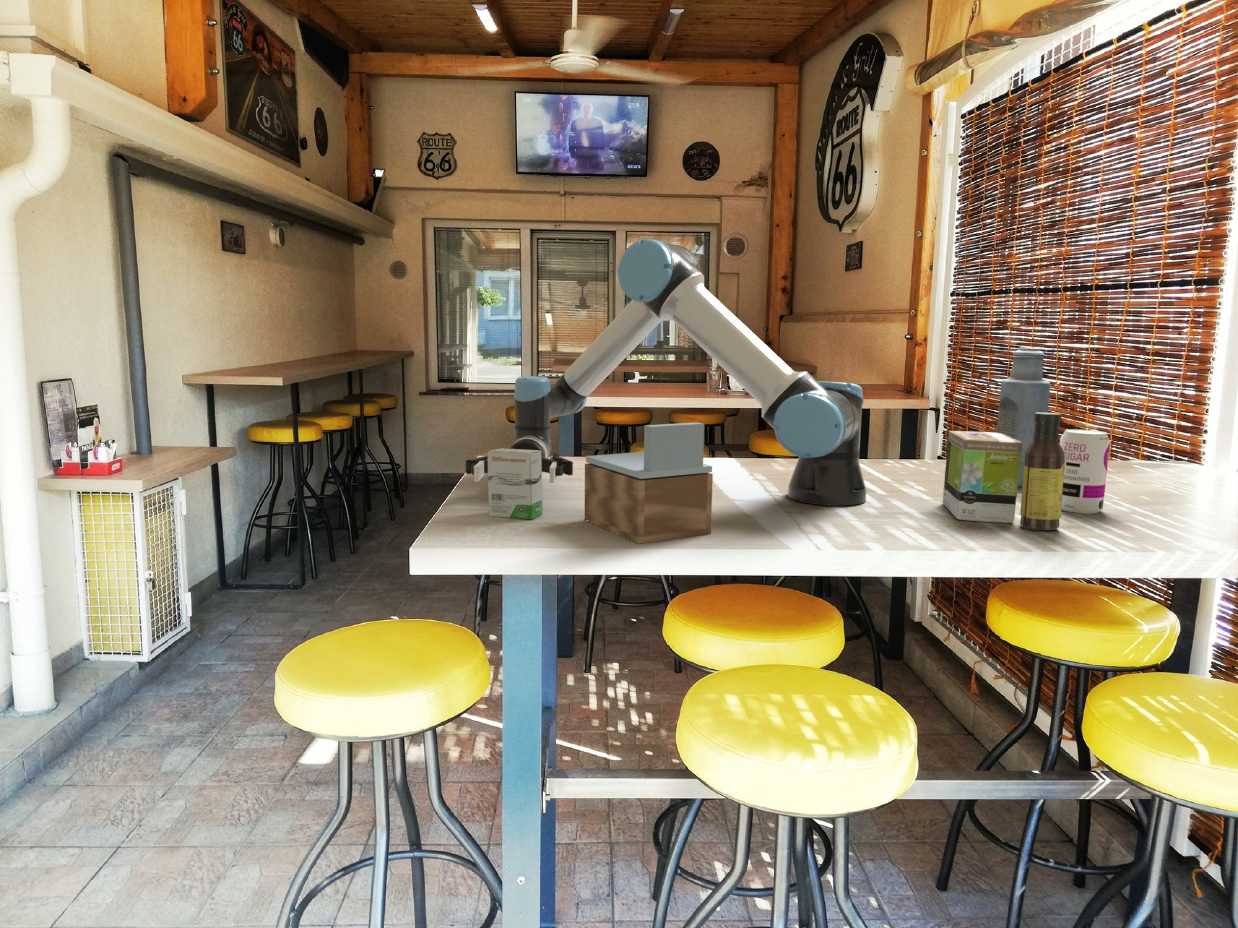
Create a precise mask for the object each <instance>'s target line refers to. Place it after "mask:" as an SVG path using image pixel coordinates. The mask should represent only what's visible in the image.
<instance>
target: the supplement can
mask: <svg viewBox="0 0 1238 928" xmlns="http://www.w3.org/2000/svg"><path fill="white" fill-rule="evenodd" d="M1059 439H1060V440H1059V444H1060V446H1061V447H1062V449H1063V451H1064V456H1065V458H1064V459H1065V467H1064V480H1063V493H1062V507H1061V511H1062V510H1063V512H1066V511H1068V512H1067V513H1072V512H1075V513H1074V514H1084V515H1088V514H1089V515H1093V514H1098V513H1100V511H1102V510H1103V509H1104V502H1105V495H1106V494H1105V493H1106V485H1107V475H1108V466H1109V464H1108V463H1109V457H1110V448H1111V440H1110V438H1109V437H1108V432H1106V431H1101V430H1093V429H1090V430H1089V429H1065V430H1064V432H1063V434H1062V435H1061V436H1060V437H1059Z"/></svg>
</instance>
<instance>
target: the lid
mask: <svg viewBox="0 0 1238 928" xmlns="http://www.w3.org/2000/svg"><path fill="white" fill-rule="evenodd" d="M643 428H644V431H643V432H644V433H643V434H644V435H643V436H644V437H643V440H644V442H643V451H637V452H625V453H624V452H623V453H610V454H597V455H585V462H586V463H591V464H594V465H597V466H601V467H604V468H607V469H610V470H613V471H617V472H620V473H623V474H626V475H629V476H633V477H636V478H639V479H645V478H656V477H666V476H677V475H687V474H698V473H712V472H713V466H712V465H708V464H705V463H704V449H705V448H704V447H705V446H704V445H705V423H702V422H698V421H697V422H696V421H695V422H682V423H681V422H680V423H664V424H662V423H661V424H647V425H644V427H643Z"/></svg>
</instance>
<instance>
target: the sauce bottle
mask: <svg viewBox="0 0 1238 928" xmlns="http://www.w3.org/2000/svg"><path fill="white" fill-rule="evenodd" d="M1034 421H1035V433H1034V440H1033V442H1032V443H1031V444H1030V445H1029V447H1028V448H1027V450H1026V452H1025V464H1024V469H1023V482H1022V487H1021V498H1020V499H1021V501H1020V511H1019V515H1020V521H1019V524H1020V527H1022V528H1023V529H1026V530H1032V531H1054V530H1058V529H1059V527H1060V519H1061V518H1062V510H1061V507H1062V493H1063V480H1064V467H1065V459H1064V458H1065V456H1064V451H1063V449H1062V447H1061V446H1060V441H1059V439H1060V435H1059V433H1060V424H1061V422H1062V413H1058V412H1048V413H1044V412H1036V413H1035V417H1034Z"/></svg>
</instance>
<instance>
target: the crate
mask: <svg viewBox="0 0 1238 928" xmlns="http://www.w3.org/2000/svg"><path fill="white" fill-rule="evenodd" d="M713 477H714V474H713V473H712V472H708V473H698V474H687V475H677V476H666V477H656V478H645V479H639V478H636V477H633V476H629V475H626V474H623V473H620V472H617V471H613V470H610V469H607V468H604V467H601V466H597V465H594V464H591V463H588V462H586V463H584V521H585V520H588V521H589V522H588V521H587V522H588V523H590V522H592V523H594V524H596V525H595V526H597V525H599V526H600V527H599V526H598V527H599V528H601V527H603V528H605V529H604V530H606V529H608V530H610V531H612V532H611V533H613V532H615V533H617V534H619V535H621V536H620V537H622V538H624V537H625V538H624V539H626V538H628V539H629V540H628V539H627V540H628V541H631V540H632V541H631V542H632V543H633V542H634V543H636V544H637V543H638V544H637V545H639V544H640V543H641V544H647V543H652V542H661V541H669V540H675V539H682V538H689V537H696V536H705V535H711V534H712V514H713V513H712V509H713V506H712V505H713V479H714V478H713ZM592 523H591V524H592ZM594 524H593V525H594ZM603 528H602V529H603ZM608 530H607V531H608ZM610 531H609V532H610ZM615 533H614V534H615ZM617 534H616V535H617ZM619 535H618V536H619Z"/></svg>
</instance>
